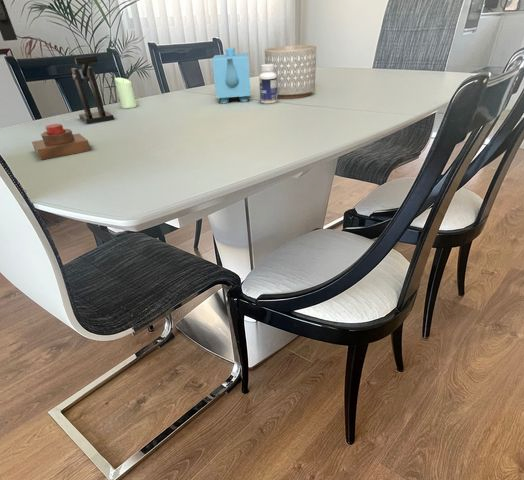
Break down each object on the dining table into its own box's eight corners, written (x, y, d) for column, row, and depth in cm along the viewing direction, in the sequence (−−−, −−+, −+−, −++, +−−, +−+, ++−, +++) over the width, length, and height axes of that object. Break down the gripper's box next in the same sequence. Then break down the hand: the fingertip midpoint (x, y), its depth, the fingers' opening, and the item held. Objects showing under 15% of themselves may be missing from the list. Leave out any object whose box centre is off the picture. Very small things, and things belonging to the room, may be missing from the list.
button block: (41, 160, 86) (33, 140, 83) (35, 151, 92) (28, 133, 89) (91, 150, 90) (84, 131, 87) (82, 143, 96) (76, 124, 93)
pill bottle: (257, 103, 123) (254, 65, 117) (268, 100, 126) (267, 63, 119) (269, 104, 120) (267, 66, 114) (280, 101, 123) (280, 63, 116)
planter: (256, 97, 130) (254, 50, 122) (286, 89, 139) (285, 45, 131) (295, 101, 122) (295, 50, 113) (324, 92, 131) (326, 45, 122)
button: (50, 137, 87) (46, 128, 86) (47, 134, 89) (44, 125, 88) (66, 134, 88) (63, 125, 87) (63, 131, 90) (60, 123, 89)
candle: (139, 105, 132) (132, 76, 126) (132, 108, 128) (125, 78, 123) (126, 105, 133) (118, 76, 127) (119, 108, 129) (111, 78, 124)
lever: (98, 63, 102) (95, 52, 102) (77, 65, 100) (73, 54, 100) (94, 80, 113) (91, 71, 112) (75, 83, 111) (72, 73, 110)
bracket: (114, 119, 116) (100, 67, 107) (87, 124, 113) (70, 70, 104) (105, 114, 122) (91, 65, 114) (80, 119, 119) (63, 68, 111)
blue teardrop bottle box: (219, 96, 137) (214, 47, 128) (250, 93, 137) (247, 44, 127) (216, 108, 120) (209, 52, 111) (251, 105, 120) (247, 50, 111)
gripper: (-76, -121, 72) (-10, 40, 87) (-81, -141, 63) (-7, 42, 79) (-30, -119, 74) (25, 38, 90) (-29, -138, 66) (32, 39, 81)
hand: (10, 40), depth 84 cm, fingers closed
